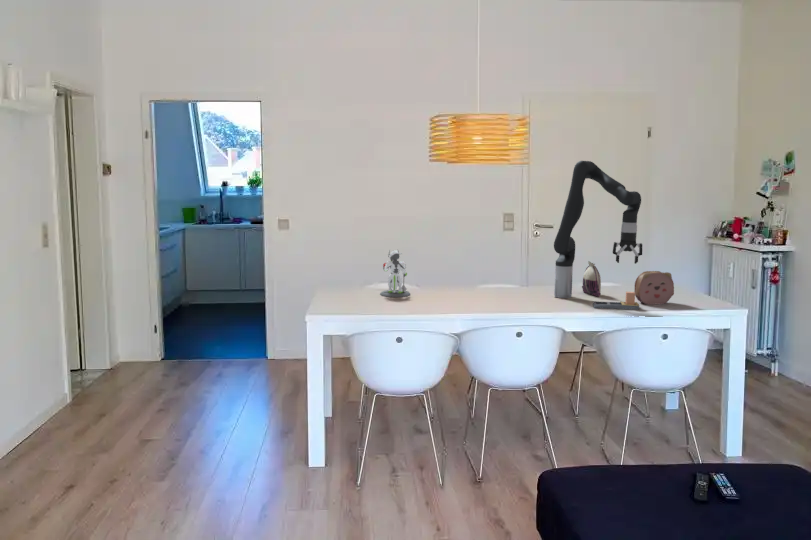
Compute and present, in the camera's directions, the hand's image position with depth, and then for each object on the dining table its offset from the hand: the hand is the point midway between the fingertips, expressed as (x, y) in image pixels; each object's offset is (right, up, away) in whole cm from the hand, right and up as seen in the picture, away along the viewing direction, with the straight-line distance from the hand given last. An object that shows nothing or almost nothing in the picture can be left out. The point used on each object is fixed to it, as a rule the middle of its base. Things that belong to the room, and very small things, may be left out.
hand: (626, 263), depth 370 cm
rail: (-5, -23, +2) cm, 23 cm away
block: (+2, -23, +1) cm, 23 cm away
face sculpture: (+18, -21, +14) cm, 31 cm away
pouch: (-8, -18, +39) cm, 43 cm away
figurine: (-118, -17, +36) cm, 125 cm away
